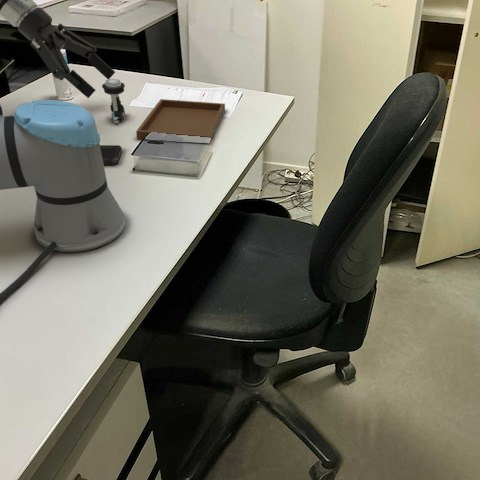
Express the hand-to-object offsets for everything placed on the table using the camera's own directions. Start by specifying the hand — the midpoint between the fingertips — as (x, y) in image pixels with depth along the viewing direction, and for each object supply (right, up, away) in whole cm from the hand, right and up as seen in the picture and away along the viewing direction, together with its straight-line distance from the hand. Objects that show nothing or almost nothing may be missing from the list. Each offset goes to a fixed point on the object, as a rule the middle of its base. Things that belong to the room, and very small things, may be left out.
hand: (102, 84), depth 137 cm
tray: (+19, -9, +5) cm, 22 cm away
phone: (+1, -20, -13) cm, 24 cm away
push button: (+2, -8, +5) cm, 10 cm away
